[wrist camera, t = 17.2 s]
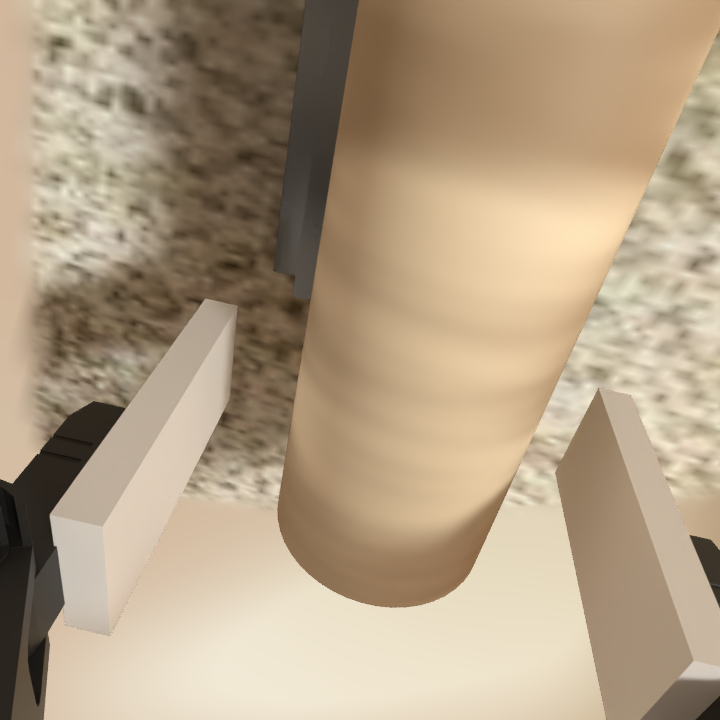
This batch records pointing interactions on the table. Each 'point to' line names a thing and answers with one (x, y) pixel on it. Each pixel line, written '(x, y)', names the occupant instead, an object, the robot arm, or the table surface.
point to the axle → (464, 264)
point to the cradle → (313, 136)
